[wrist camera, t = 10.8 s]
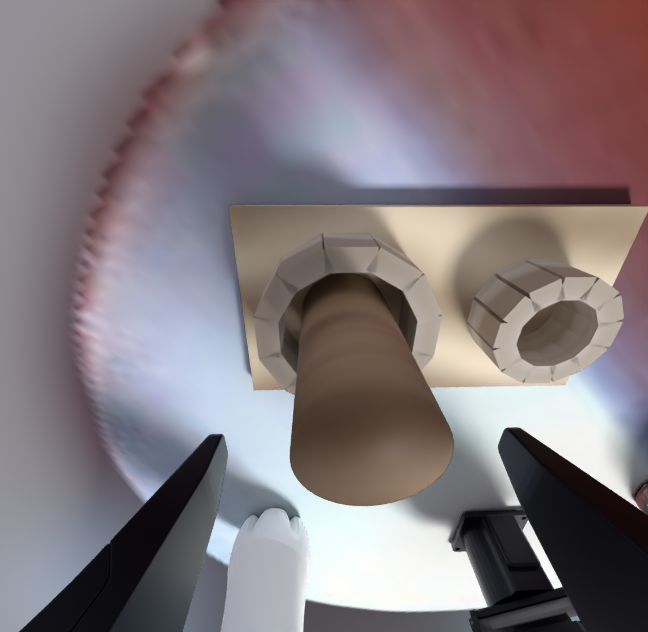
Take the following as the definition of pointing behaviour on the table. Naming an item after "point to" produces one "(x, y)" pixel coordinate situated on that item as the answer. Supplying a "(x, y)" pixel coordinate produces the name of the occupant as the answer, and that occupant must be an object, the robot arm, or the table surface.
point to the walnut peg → (362, 401)
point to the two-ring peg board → (443, 283)
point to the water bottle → (268, 575)
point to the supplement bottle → (643, 499)
